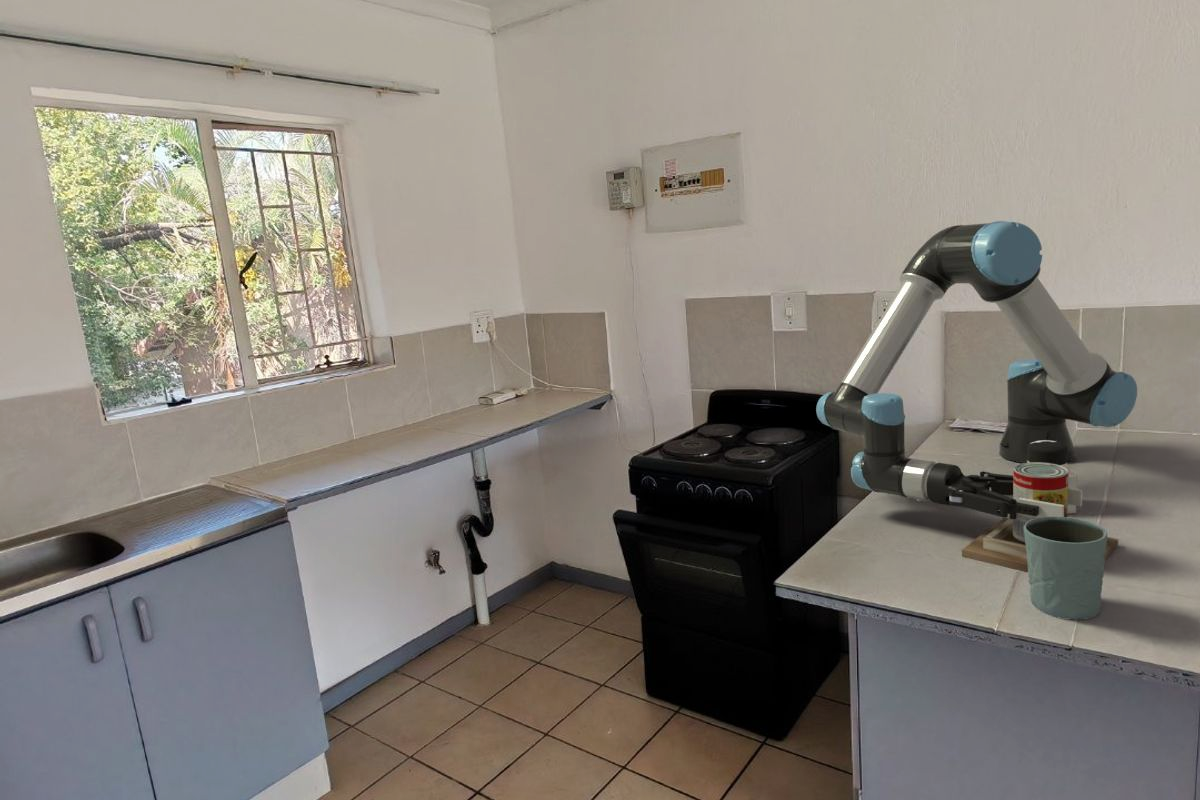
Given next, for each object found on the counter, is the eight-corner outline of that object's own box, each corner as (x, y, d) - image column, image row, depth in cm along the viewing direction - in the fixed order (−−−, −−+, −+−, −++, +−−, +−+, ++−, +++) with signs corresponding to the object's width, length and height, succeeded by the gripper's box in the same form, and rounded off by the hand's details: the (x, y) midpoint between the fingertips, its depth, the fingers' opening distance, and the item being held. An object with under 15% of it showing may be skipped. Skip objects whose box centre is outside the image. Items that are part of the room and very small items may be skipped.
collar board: (1004, 523, 138) (1004, 508, 137) (1118, 545, 124) (1118, 529, 123) (961, 556, 126) (961, 539, 126) (1081, 584, 113) (1082, 566, 112)
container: (1076, 514, 138) (1078, 447, 136) (1031, 515, 140) (1032, 449, 137) (1060, 499, 146) (1061, 436, 143) (1017, 501, 147) (1018, 438, 145)
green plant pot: (1113, 625, 101) (1116, 544, 99) (1030, 619, 105) (1031, 541, 103) (1093, 591, 111) (1096, 516, 108) (1017, 587, 114) (1018, 514, 112)
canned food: (1078, 539, 122) (1080, 471, 119) (1040, 549, 120) (1041, 479, 117) (1038, 524, 129) (1039, 459, 127) (1002, 533, 127) (1002, 467, 125)
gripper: (958, 485, 144) (1093, 508, 127) (907, 518, 131) (1048, 548, 114) (958, 448, 143) (1094, 466, 125) (906, 478, 130) (1049, 503, 112)
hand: (1072, 505), depth 120 cm, fingers closed on canned food, 8 cm apart
